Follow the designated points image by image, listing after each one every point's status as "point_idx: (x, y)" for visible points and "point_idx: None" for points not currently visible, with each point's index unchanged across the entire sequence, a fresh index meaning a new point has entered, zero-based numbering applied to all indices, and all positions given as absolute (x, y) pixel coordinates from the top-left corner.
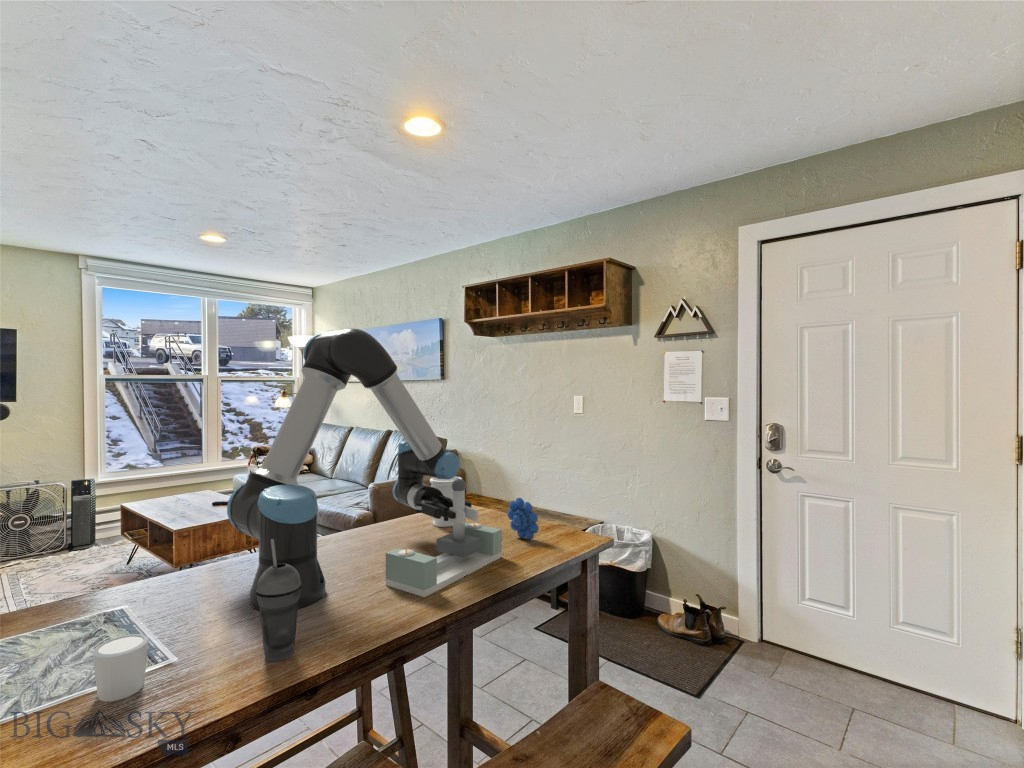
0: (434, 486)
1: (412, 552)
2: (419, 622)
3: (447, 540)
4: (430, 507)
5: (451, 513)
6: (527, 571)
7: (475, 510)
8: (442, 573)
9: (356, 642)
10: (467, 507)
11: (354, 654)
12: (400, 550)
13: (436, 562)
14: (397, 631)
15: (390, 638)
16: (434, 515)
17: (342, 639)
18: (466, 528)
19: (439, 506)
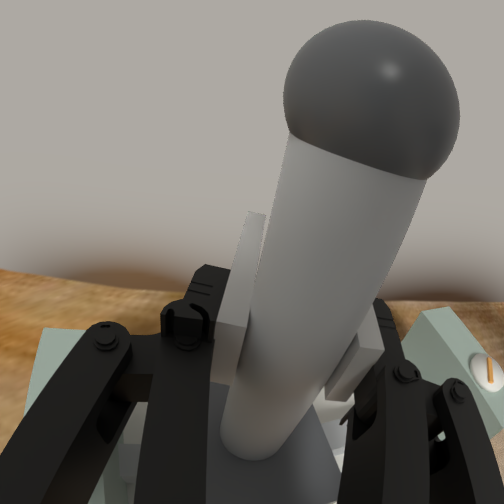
0: None
1: (476, 360)
2: (428, 308)
3: (315, 446)
4: (494, 476)
5: (384, 305)
6: (137, 298)
7: (263, 215)
8: (353, 402)
9: (487, 318)
10: (253, 267)
11: (484, 303)
12: (498, 405)
13: (416, 320)
14: (452, 309)
15: (458, 303)
16: (443, 448)
17: (500, 330)
18: (105, 491)
19: (423, 486)
